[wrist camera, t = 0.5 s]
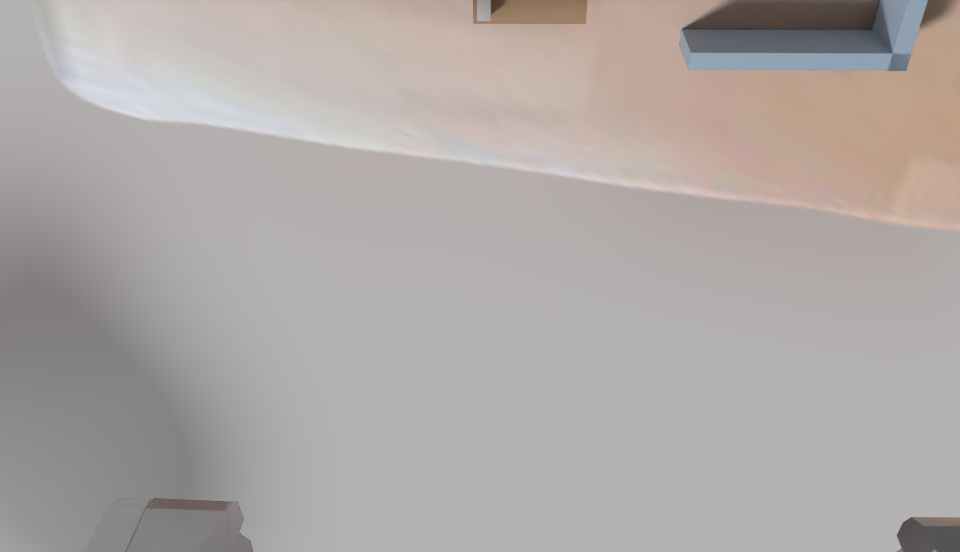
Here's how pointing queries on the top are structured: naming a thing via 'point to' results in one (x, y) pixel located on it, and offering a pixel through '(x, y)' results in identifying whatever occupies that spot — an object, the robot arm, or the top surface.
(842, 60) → the bay
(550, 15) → the wooden toy wagon
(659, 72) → the top surface
